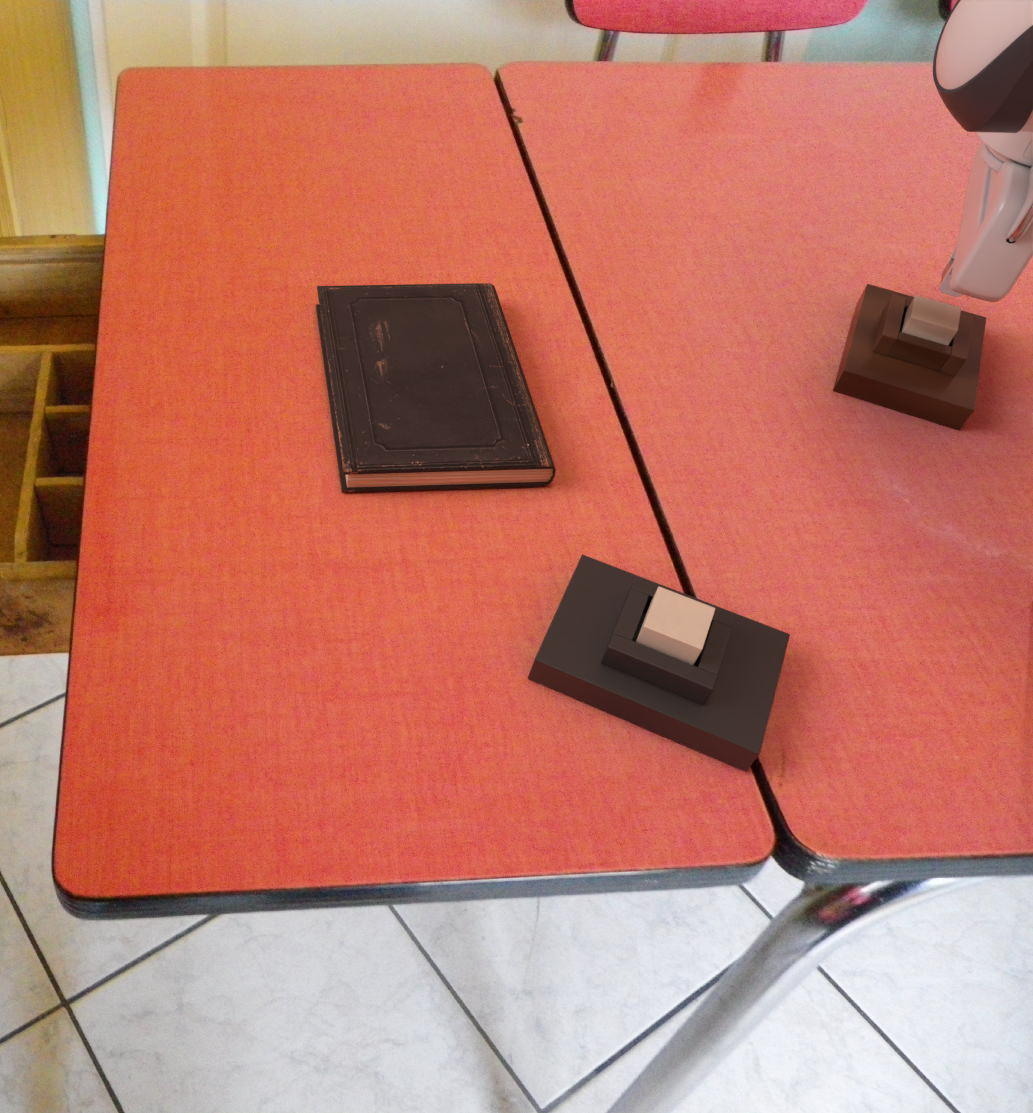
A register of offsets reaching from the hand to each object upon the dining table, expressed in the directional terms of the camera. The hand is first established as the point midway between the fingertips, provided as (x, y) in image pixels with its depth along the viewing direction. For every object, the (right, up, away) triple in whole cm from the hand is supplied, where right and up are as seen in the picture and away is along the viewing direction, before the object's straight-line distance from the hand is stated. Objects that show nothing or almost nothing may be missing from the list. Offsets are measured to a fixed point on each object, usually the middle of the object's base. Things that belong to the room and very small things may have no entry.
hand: (950, 285), depth 82 cm
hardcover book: (-42, -8, +2) cm, 43 cm away
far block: (0, -5, +6) cm, 8 cm away
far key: (0, -3, +3) cm, 4 cm away
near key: (-29, -27, -18) cm, 44 cm away
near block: (-29, -29, -15) cm, 44 cm away
